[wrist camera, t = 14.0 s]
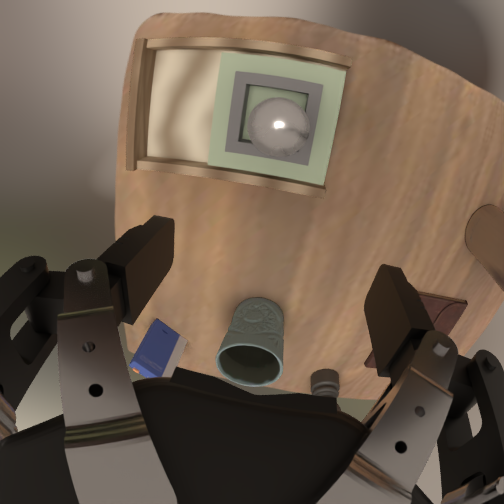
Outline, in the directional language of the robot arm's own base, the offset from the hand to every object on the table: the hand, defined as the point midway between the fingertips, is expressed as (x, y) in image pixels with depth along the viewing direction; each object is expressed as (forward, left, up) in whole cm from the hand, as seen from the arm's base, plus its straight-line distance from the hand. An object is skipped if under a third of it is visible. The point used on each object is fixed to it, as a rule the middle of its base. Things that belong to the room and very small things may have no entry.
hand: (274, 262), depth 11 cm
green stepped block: (+2, -4, -28) cm, 28 cm away
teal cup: (0, +29, -29) cm, 41 cm away
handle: (+1, -4, -22) cm, 22 cm away
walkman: (+17, +39, -29) cm, 51 cm away
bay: (+8, -4, -29) cm, 30 cm away
